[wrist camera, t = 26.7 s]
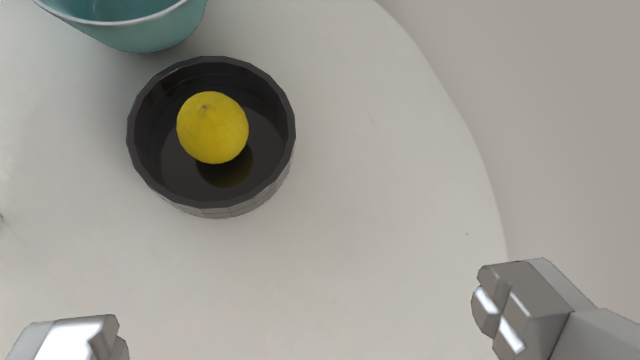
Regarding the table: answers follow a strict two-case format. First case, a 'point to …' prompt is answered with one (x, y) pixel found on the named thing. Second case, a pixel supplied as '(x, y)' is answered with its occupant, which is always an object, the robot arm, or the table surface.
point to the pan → (199, 177)
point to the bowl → (130, 21)
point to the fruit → (212, 127)
